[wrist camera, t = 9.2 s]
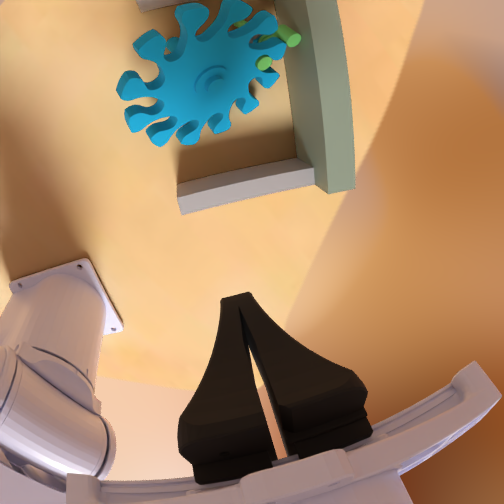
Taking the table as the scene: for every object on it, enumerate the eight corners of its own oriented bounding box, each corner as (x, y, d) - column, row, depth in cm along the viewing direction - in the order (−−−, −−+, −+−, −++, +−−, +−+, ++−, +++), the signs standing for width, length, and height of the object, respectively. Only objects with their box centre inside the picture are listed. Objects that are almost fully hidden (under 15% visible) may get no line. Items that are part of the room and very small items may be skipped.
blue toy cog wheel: (162, 177, 18) (88, 69, 8) (131, 123, 19) (71, 27, 10) (300, 100, 19) (314, -19, 9) (254, 59, 20) (247, -45, 10)
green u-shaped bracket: (180, 199, 21) (182, 228, 17) (139, -2, 13) (128, -28, 8) (321, 168, 22) (355, 188, 18) (295, -19, 14) (326, -41, 10)
